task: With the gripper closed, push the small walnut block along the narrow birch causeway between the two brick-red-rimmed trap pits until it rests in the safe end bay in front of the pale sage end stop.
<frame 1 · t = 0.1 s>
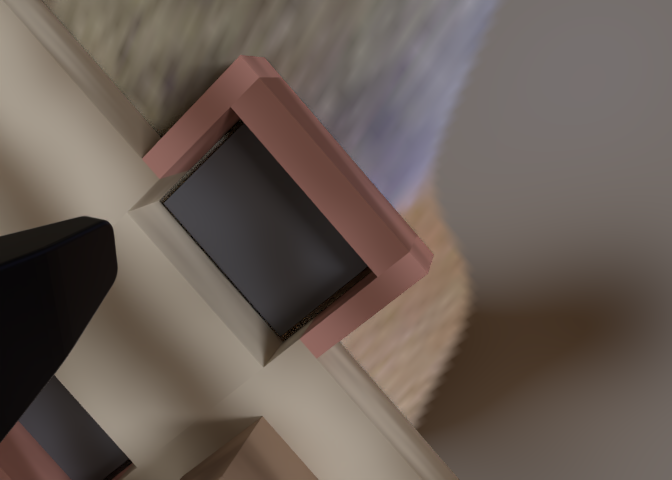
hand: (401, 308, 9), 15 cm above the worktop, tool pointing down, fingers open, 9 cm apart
trap deck: (162, 324, 28), on the worktop
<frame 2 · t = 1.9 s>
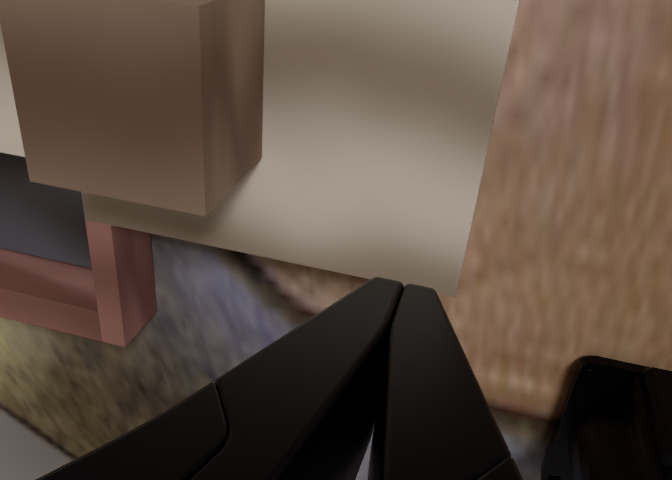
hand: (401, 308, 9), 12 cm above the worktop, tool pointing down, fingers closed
walnut block: (182, 64, 18), point 2 cm above the worktop, touching trap deck
trap deck: (3, 14, 22), on the worktop
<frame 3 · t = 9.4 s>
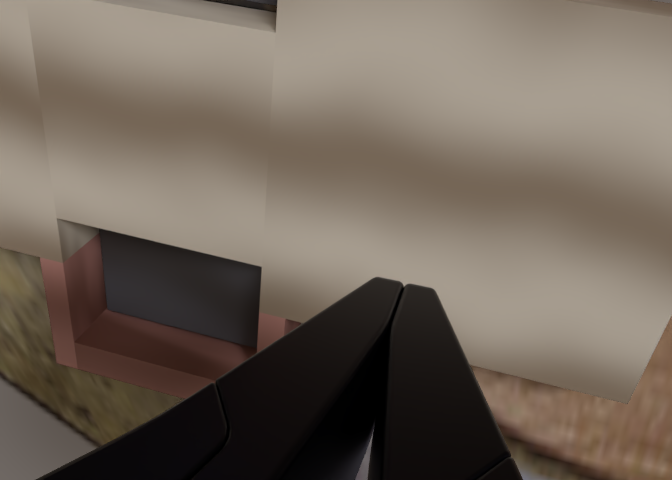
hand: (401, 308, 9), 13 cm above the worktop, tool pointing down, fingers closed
trap deck: (185, 113, 22), on the worktop
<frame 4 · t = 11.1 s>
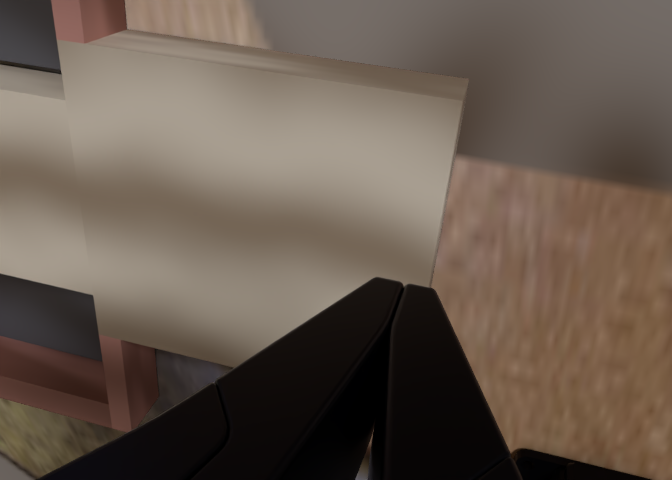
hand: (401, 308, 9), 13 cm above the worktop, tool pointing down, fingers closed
trap deck: (30, 163, 26), on the worktop
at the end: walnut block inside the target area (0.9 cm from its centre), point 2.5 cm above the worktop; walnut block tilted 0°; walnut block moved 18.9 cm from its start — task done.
